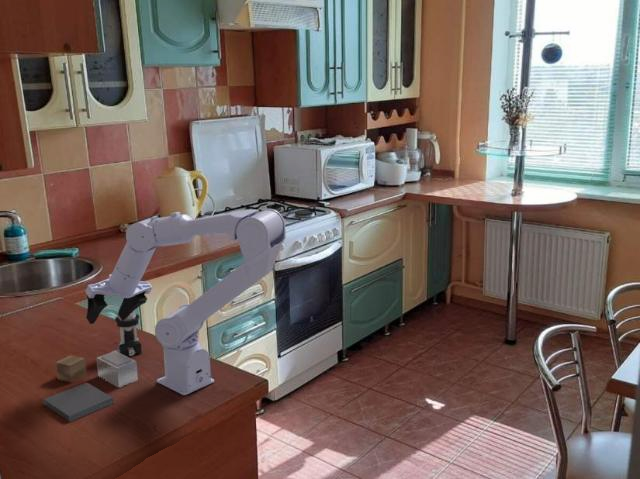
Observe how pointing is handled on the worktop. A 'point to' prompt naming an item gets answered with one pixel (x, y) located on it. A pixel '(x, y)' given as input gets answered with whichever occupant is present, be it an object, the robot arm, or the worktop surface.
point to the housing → (117, 369)
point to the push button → (128, 335)
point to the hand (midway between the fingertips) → (105, 319)
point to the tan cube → (71, 368)
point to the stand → (78, 401)
